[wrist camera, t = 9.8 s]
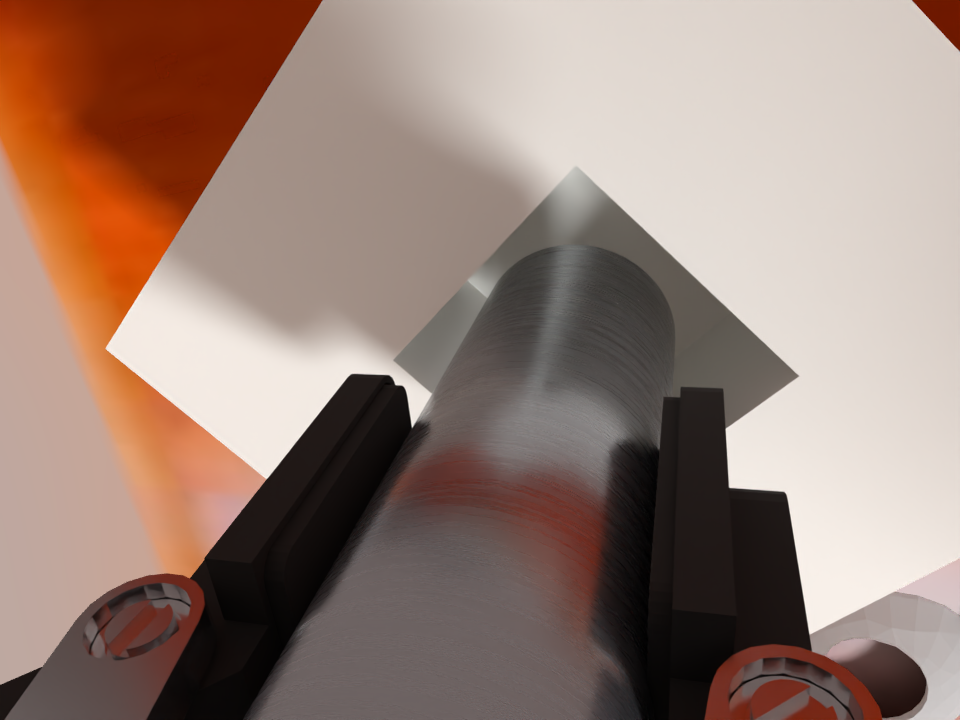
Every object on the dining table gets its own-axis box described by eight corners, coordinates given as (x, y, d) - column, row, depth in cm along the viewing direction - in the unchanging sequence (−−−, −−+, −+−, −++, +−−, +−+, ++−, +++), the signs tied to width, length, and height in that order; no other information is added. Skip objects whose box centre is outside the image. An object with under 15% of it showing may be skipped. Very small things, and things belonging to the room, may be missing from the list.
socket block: (616, -254, 15) (558, -379, 9) (1079, 235, 17) (1279, 395, 11) (266, 237, 22) (105, 348, 16) (622, 544, 24) (594, 744, 18)
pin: (572, 203, 14) (176, 1040, 3) (718, 339, 14) (776, 1432, 4) (446, 332, 15) (-62, 1135, 5) (580, 448, 16) (366, 1393, 6)
